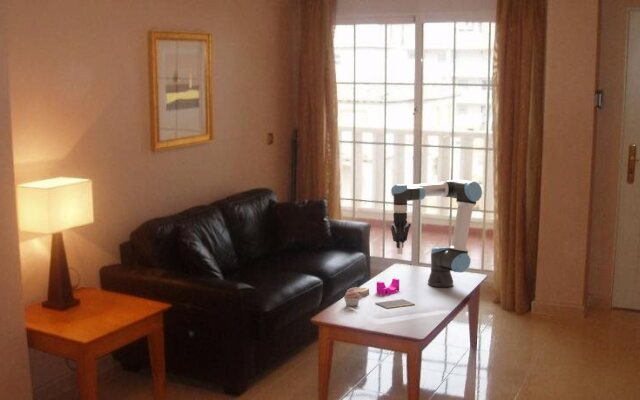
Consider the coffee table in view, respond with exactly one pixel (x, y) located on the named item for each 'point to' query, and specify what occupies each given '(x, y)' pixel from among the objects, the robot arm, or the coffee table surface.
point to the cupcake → (352, 298)
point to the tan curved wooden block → (361, 291)
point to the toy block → (388, 290)
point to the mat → (394, 303)
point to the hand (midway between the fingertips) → (399, 253)
